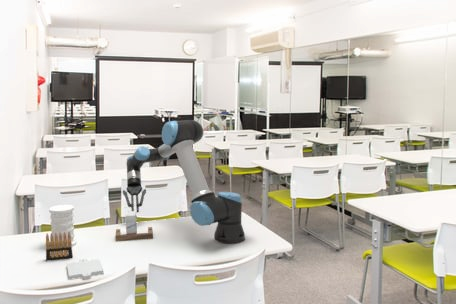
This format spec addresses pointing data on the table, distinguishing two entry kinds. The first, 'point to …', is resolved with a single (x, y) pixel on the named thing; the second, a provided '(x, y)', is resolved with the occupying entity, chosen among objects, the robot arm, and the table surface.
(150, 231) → the walnut bay
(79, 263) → the mounting plate
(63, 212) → the decorative container
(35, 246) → the table surface
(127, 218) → the ink box
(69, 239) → the ammunition clip
